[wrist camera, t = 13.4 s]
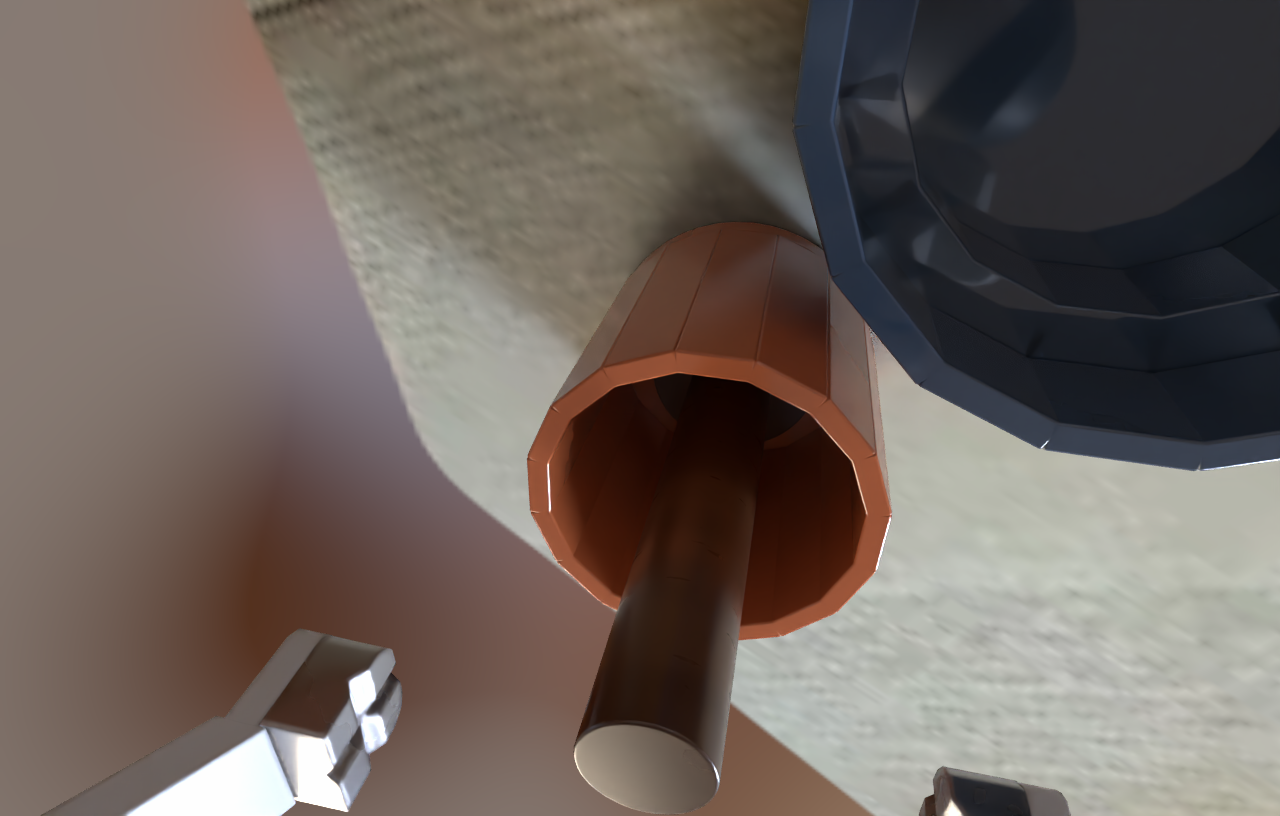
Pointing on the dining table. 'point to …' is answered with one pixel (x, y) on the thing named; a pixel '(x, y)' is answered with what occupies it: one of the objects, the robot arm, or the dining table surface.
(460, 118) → the dining table surface
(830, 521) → the crock
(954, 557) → the dining table surface
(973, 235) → the bowl
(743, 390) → the plunger
